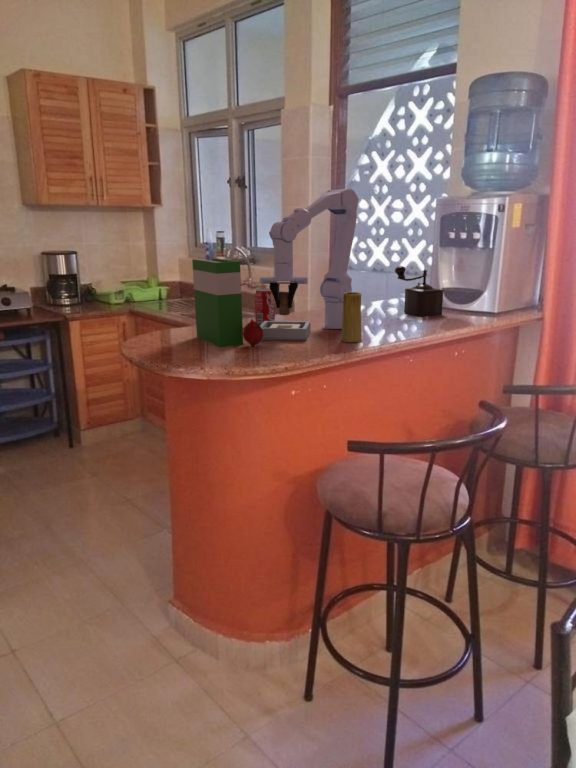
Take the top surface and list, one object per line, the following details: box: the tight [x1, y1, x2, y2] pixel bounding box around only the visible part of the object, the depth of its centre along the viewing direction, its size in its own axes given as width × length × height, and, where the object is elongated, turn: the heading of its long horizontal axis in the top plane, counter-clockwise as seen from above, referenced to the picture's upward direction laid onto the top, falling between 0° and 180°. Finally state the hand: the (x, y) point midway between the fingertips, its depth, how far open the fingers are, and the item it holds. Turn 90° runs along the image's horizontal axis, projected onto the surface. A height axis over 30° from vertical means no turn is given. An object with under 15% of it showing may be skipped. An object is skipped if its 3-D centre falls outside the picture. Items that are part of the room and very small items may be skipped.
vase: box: [340, 291, 363, 343], centre depth 167 cm, size 6×6×14 cm
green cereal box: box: [191, 257, 244, 348], centre depth 169 cm, size 18×7×24 cm, turn 31°
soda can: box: [253, 288, 276, 325], centre depth 197 cm, size 7×7×12 cm
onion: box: [243, 318, 263, 347], centre depth 163 cm, size 6×6×8 cm
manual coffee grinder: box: [394, 265, 444, 318], centre depth 211 cm, size 16×11×18 cm
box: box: [260, 320, 311, 342], centre depth 177 cm, size 15×13×4 cm
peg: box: [278, 290, 291, 316], centre depth 175 cm, size 3×3×7 cm
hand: (284, 307), depth 175 cm, fingers closed on peg, 3 cm apart
